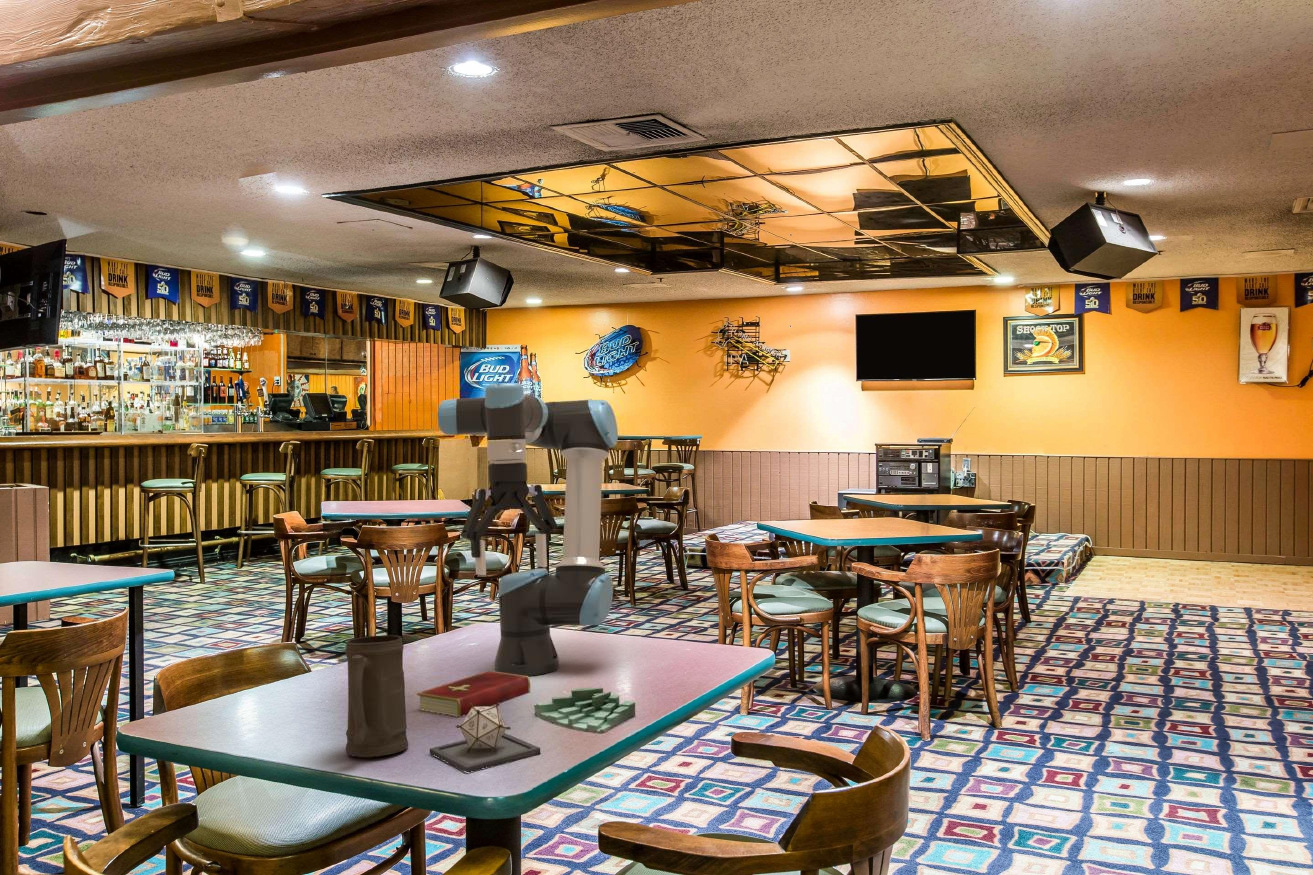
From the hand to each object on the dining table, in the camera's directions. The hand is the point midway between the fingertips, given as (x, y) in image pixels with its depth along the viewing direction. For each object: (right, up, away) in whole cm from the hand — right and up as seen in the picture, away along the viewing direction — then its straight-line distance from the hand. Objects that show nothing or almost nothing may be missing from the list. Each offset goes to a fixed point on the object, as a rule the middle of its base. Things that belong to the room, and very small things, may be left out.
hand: (512, 570), depth 195 cm
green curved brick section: (+14, -29, -2) cm, 32 cm away
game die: (-2, -28, -22) cm, 36 cm away
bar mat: (-2, -29, -22) cm, 37 cm away
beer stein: (-21, -30, -20) cm, 42 cm away
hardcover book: (-10, -30, +13) cm, 34 cm away
